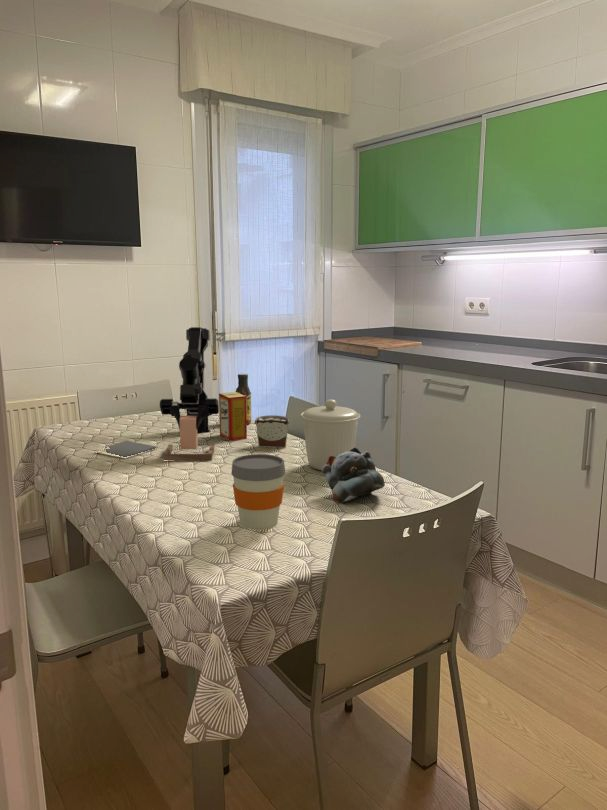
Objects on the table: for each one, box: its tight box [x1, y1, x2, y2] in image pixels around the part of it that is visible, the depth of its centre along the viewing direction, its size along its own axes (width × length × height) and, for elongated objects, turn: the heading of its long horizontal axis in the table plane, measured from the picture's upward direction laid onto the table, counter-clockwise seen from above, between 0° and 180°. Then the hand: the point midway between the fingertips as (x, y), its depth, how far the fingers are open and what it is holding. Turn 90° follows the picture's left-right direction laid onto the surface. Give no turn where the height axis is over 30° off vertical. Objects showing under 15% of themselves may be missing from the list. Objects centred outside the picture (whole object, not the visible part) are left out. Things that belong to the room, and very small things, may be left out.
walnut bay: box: [162, 443, 215, 462], centre depth 201 cm, size 13×15×2 cm
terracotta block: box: [179, 415, 199, 450], centre depth 200 cm, size 5×5×10 cm
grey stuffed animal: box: [321, 447, 386, 504], centre depth 164 cm, size 15×12×14 cm
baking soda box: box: [218, 391, 248, 442], centre depth 224 cm, size 10×6×16 cm
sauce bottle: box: [235, 373, 252, 425], centre depth 245 cm, size 7×6×20 cm
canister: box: [300, 399, 361, 471], centre depth 188 cm, size 18×18×21 cm
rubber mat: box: [104, 440, 157, 457], centre depth 206 cm, size 14×14×1 cm
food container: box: [254, 414, 291, 449], centre depth 214 cm, size 12×6×10 cm, turn 84°
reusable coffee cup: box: [231, 453, 286, 530], centre depth 145 cm, size 12×13×15 cm
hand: (188, 428), depth 198 cm, fingers closed on terracotta block, 5 cm apart
